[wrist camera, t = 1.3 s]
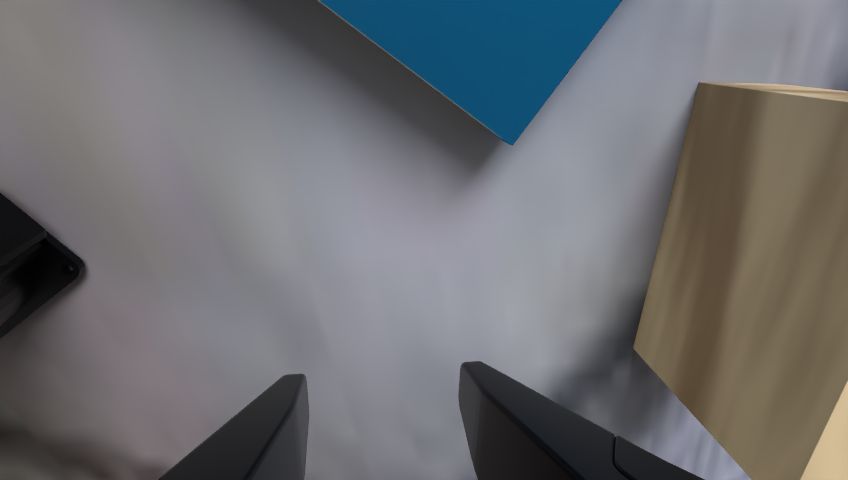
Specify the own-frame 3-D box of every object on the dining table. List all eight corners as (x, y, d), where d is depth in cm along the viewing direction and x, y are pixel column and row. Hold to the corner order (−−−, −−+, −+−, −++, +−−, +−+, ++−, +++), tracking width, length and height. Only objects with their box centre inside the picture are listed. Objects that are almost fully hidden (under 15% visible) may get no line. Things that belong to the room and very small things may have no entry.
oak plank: (632, 347, 26) (783, 514, 17) (697, 82, 21) (973, 118, 11) (697, 343, 27) (877, 502, 18) (778, 83, 21) (1101, 119, 12)
